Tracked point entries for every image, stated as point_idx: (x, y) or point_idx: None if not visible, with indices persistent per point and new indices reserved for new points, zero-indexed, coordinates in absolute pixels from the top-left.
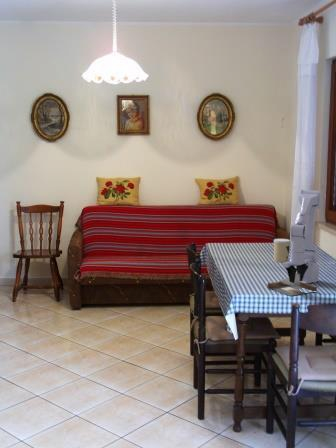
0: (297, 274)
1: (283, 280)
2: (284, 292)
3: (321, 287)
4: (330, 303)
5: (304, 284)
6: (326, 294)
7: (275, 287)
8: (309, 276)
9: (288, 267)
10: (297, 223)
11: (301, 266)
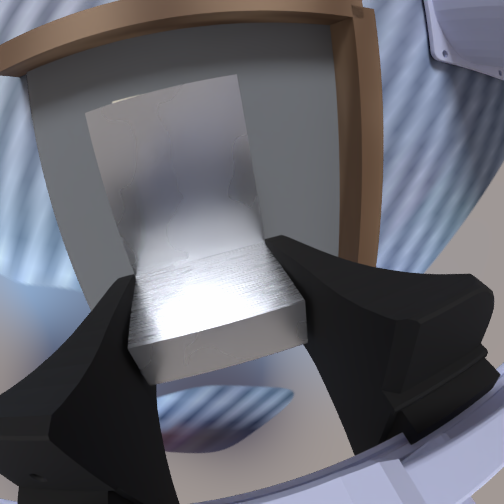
0: (230, 364)
1: (95, 146)
2: (80, 233)
3: (453, 173)
4: (260, 423)
5: (358, 172)
6: None
7: (86, 53)
8: (494, 60)
9: (35, 488)
10: None
11: (371, 431)
